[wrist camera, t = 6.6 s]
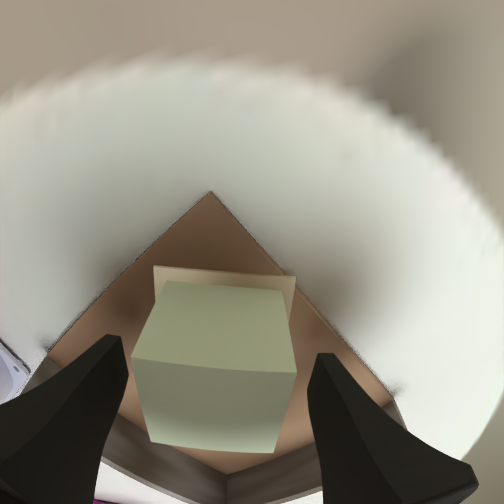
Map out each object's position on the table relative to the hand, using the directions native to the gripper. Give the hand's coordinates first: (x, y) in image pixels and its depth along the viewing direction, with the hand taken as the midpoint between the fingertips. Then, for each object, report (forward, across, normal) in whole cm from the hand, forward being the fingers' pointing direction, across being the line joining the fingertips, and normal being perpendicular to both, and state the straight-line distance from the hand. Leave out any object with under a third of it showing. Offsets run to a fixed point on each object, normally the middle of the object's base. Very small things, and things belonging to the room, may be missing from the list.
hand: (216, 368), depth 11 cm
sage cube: (+2, 0, 0) cm, 2 cm away
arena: (+3, 0, +5) cm, 6 cm away
